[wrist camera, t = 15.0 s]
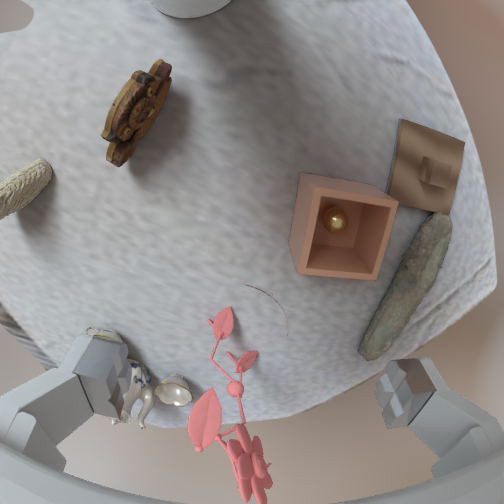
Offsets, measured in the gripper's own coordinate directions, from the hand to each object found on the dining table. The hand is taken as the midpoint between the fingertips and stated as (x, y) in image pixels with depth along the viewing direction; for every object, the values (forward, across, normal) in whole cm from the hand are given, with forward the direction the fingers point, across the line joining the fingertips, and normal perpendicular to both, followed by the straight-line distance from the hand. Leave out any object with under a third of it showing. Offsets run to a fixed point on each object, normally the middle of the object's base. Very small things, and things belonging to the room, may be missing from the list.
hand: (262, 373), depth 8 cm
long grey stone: (+40, -33, +19) cm, 55 cm away
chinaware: (+40, +20, +45) cm, 63 cm away
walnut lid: (+38, -30, -5) cm, 49 cm away
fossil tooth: (+39, +41, +5) cm, 57 cm away
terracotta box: (+39, -14, +6) cm, 42 cm away
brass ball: (+36, -14, +6) cm, 39 cm away
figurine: (+39, -4, +30) cm, 50 cm away
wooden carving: (+39, +16, -7) cm, 43 cm away
